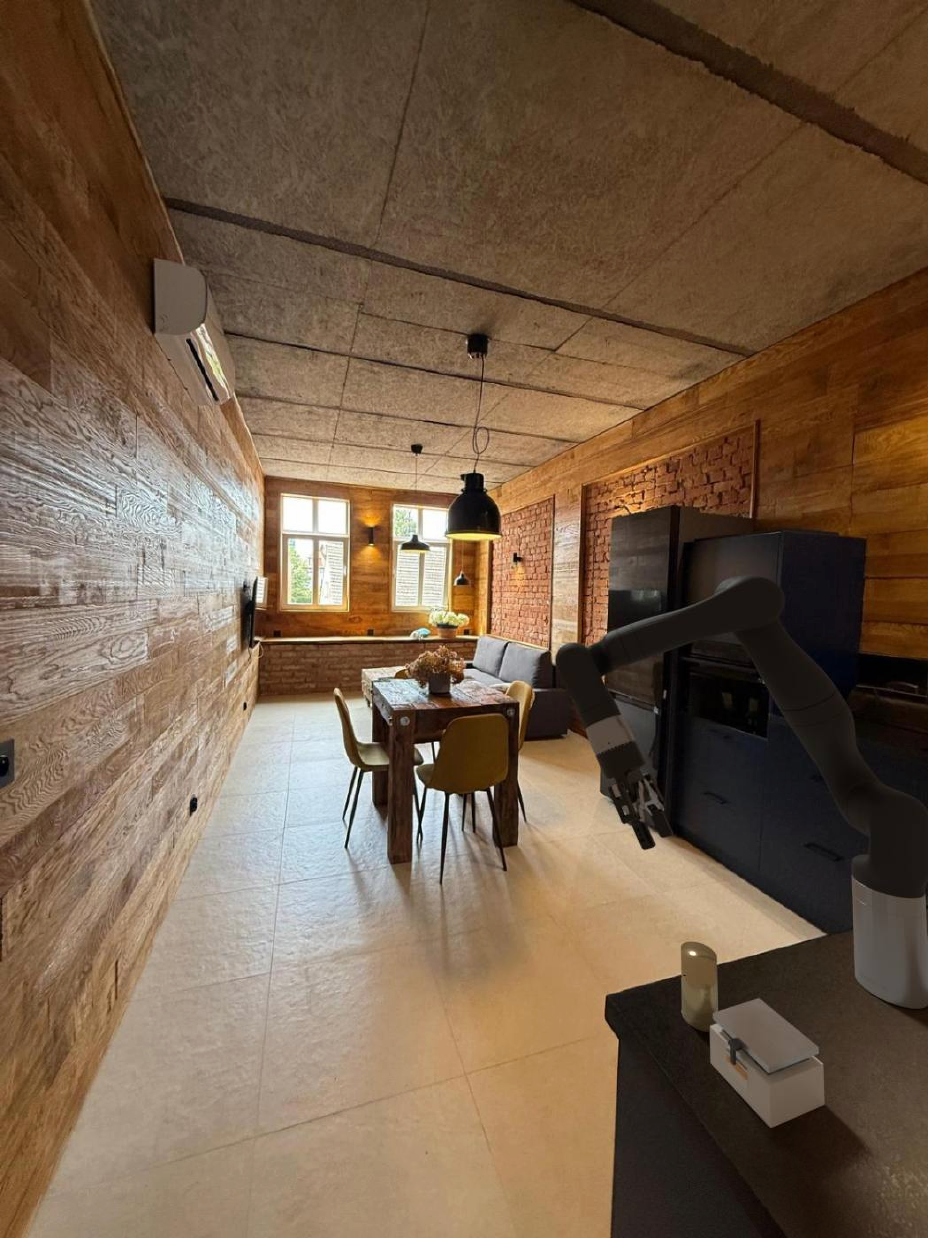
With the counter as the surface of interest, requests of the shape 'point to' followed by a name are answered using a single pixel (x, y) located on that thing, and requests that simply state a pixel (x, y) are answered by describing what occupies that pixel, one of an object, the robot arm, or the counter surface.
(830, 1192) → the counter surface
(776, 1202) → the counter surface
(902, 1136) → the counter surface
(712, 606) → the robot arm
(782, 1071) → the white latched box
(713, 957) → the disc
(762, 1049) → the box lid
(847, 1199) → the counter surface
